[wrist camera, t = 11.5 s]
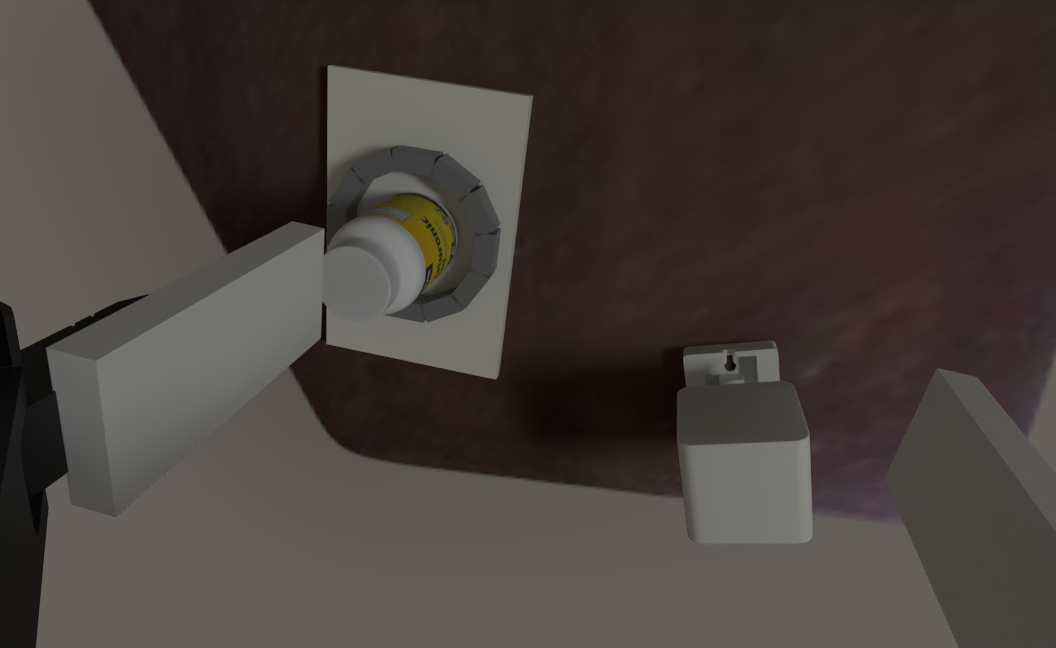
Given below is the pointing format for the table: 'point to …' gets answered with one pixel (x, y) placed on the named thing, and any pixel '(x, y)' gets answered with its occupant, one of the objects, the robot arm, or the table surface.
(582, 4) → the table surface
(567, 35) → the table surface
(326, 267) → the supplement bottle
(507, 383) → the table surface
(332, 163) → the socket board
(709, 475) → the security camera
